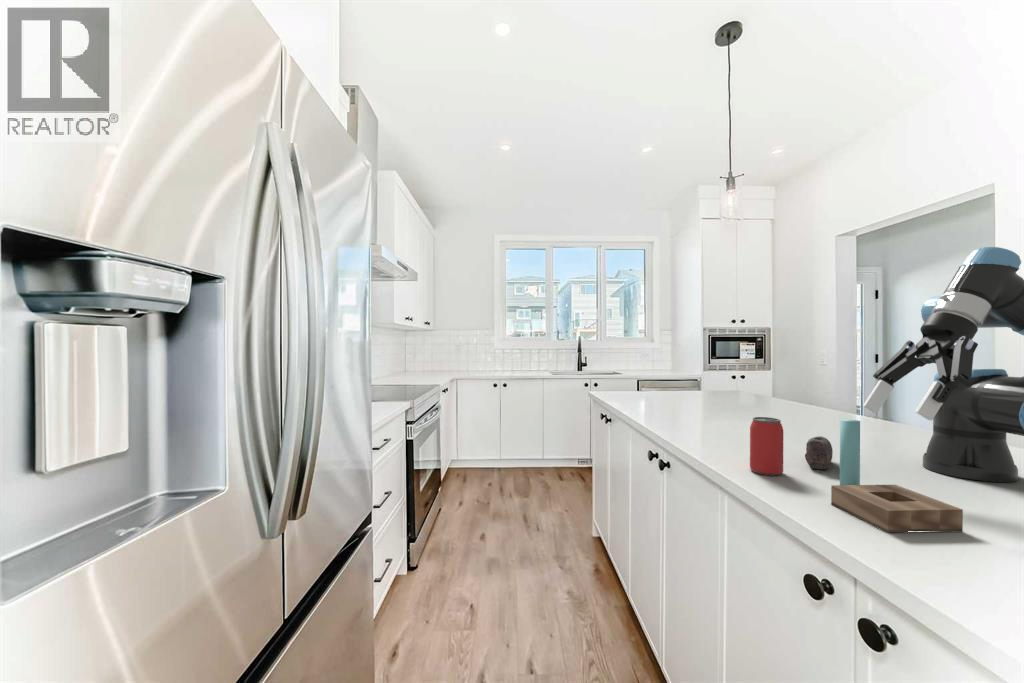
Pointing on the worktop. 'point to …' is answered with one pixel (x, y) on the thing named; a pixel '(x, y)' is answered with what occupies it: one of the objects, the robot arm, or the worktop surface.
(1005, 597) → the worktop surface
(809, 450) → the perforated stone tool
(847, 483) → the pin
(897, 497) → the board
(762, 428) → the beer can
